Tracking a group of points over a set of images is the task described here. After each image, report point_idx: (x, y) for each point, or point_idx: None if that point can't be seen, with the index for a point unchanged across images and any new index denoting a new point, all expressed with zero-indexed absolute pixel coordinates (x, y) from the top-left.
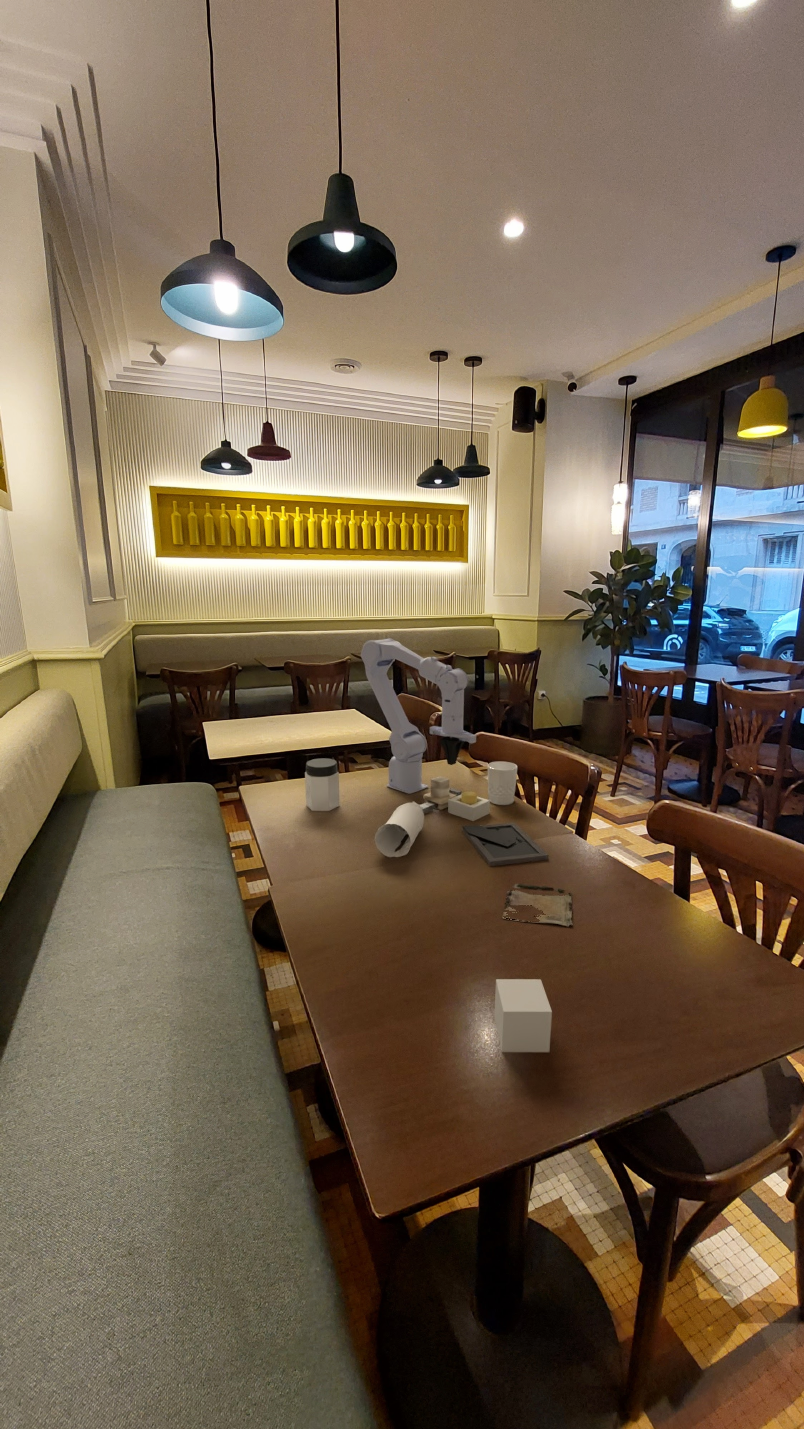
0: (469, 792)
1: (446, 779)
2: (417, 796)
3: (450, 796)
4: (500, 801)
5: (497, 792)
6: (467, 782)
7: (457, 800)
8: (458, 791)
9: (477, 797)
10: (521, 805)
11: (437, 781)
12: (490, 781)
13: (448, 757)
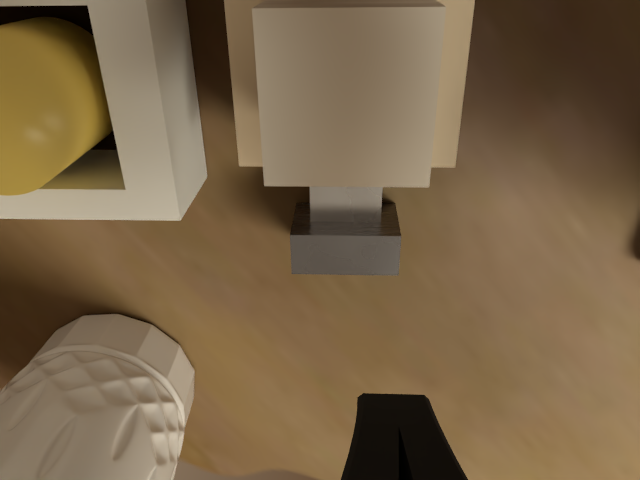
0: (26, 162)
1: (281, 154)
2: (622, 64)
3: (250, 103)
4: (59, 336)
5: (37, 367)
6: (461, 464)
7: (99, 39)
8: (303, 253)
9: (34, 204)
10: (3, 383)
11: (315, 9)
12: (64, 422)
13: (408, 473)
